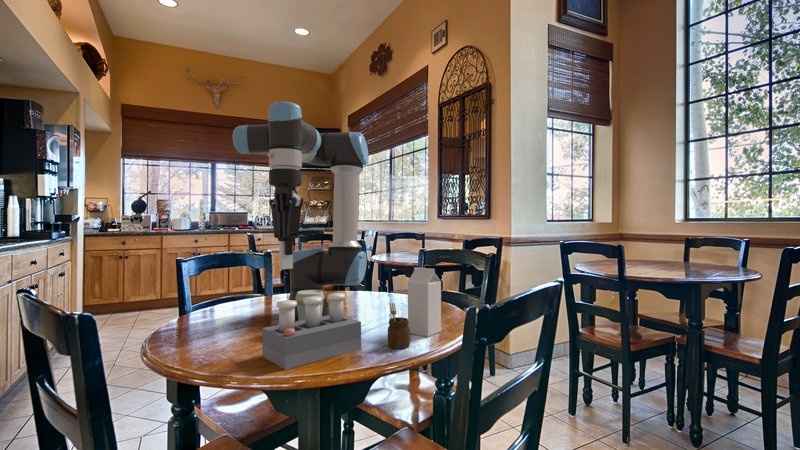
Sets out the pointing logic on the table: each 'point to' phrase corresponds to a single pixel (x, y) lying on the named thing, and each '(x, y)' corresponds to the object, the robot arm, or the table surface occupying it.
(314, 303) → the knob middle
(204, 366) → the table surface
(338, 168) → the robot arm
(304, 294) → the coffee cup
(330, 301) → the knob far
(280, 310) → the white capped tube
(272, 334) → the grey tube rack
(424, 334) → the milk carton
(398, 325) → the utensil holder
